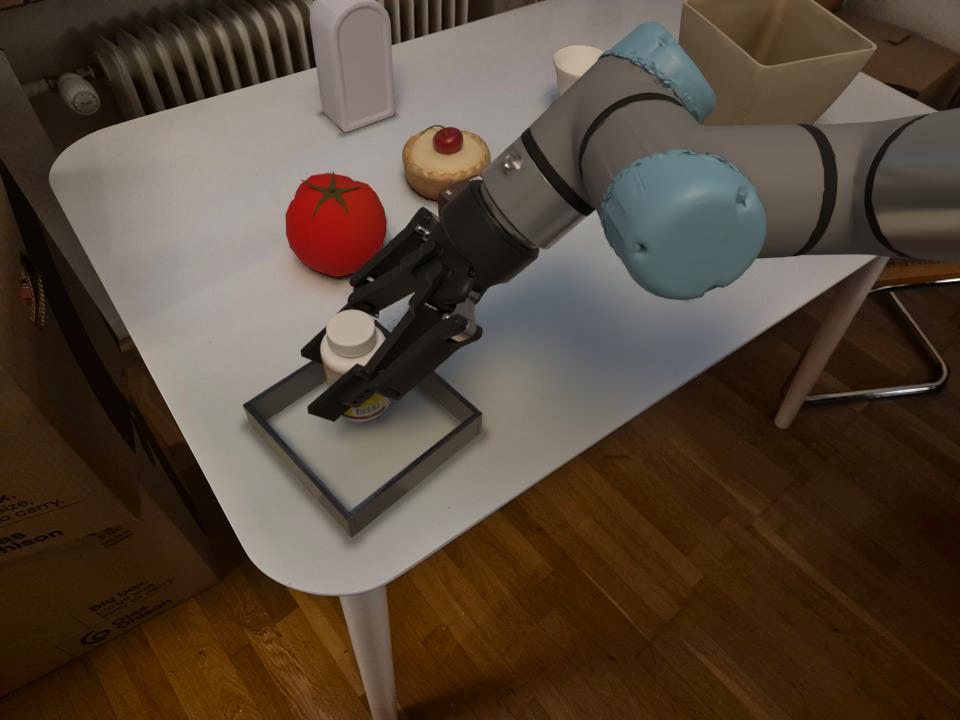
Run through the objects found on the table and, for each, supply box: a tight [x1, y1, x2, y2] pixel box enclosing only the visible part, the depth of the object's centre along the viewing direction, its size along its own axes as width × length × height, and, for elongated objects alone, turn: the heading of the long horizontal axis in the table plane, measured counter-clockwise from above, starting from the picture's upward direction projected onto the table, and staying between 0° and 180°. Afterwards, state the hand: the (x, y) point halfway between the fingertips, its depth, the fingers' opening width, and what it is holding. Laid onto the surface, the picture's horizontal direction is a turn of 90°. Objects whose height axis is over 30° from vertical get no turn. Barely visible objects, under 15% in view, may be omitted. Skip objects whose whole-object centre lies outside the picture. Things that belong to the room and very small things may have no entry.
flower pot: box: [677, 0, 878, 126], centre depth 96 cm, size 19×19×17 cm
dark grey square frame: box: [242, 319, 484, 538], centre depth 65 cm, size 16×16×4 cm
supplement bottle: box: [320, 310, 392, 422], centre depth 58 cm, size 6×6×10 cm
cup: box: [552, 44, 605, 99], centre depth 98 cm, size 9×9×10 cm
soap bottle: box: [309, 0, 396, 133], centre depth 91 cm, size 9×7×23 cm
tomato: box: [285, 170, 388, 277], centre depth 77 cm, size 12×12×11 cm
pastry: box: [401, 124, 492, 201], centre depth 88 cm, size 12×12×9 cm
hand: (317, 384), depth 59 cm, fingers closed on supplement bottle, 6 cm apart
